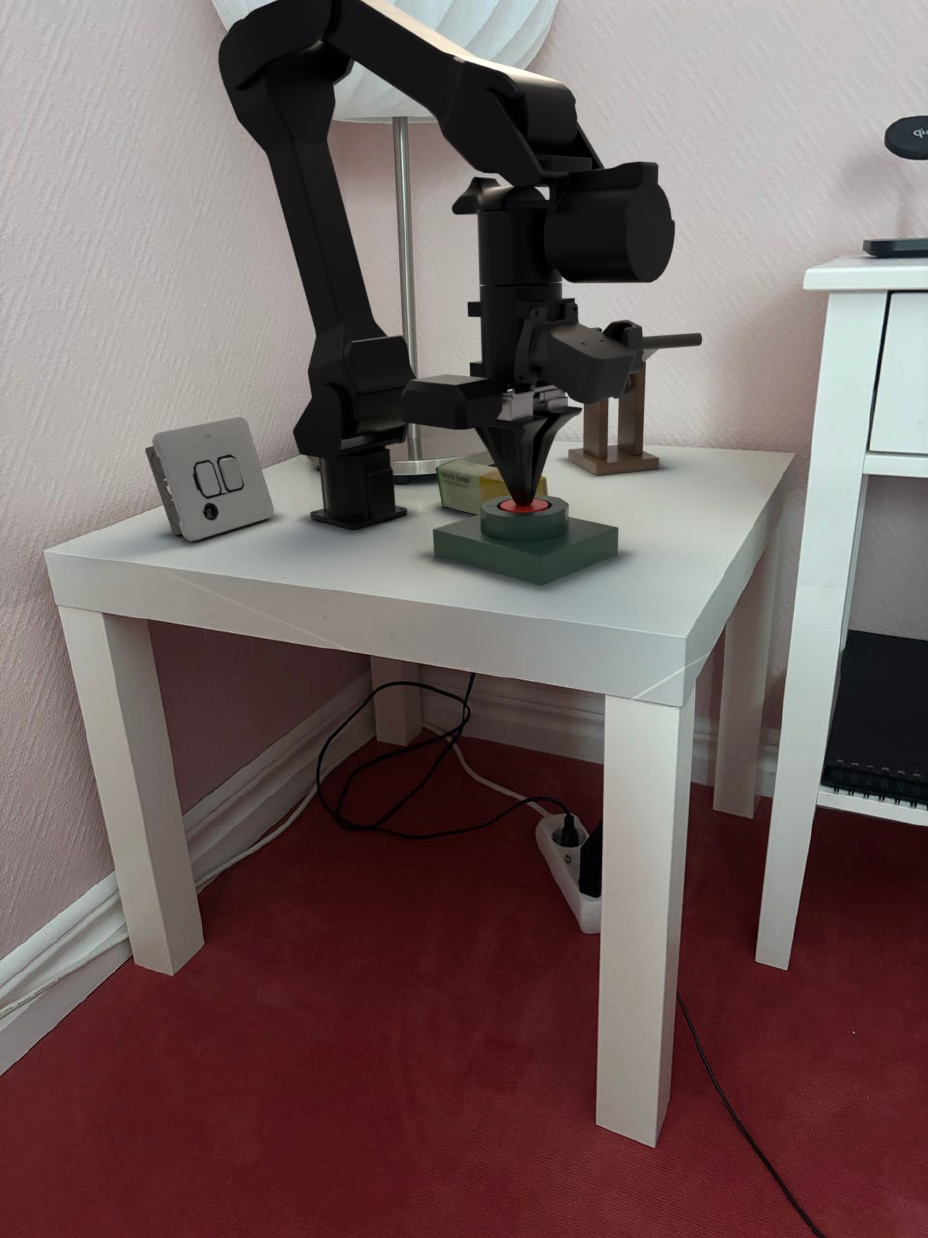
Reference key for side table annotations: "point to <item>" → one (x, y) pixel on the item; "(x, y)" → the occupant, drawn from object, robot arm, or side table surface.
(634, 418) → the bracket
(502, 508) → the button
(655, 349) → the lever
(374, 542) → the side table surface
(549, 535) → the button box
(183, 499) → the electrical switch
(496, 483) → the medication box
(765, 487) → the side table surface
